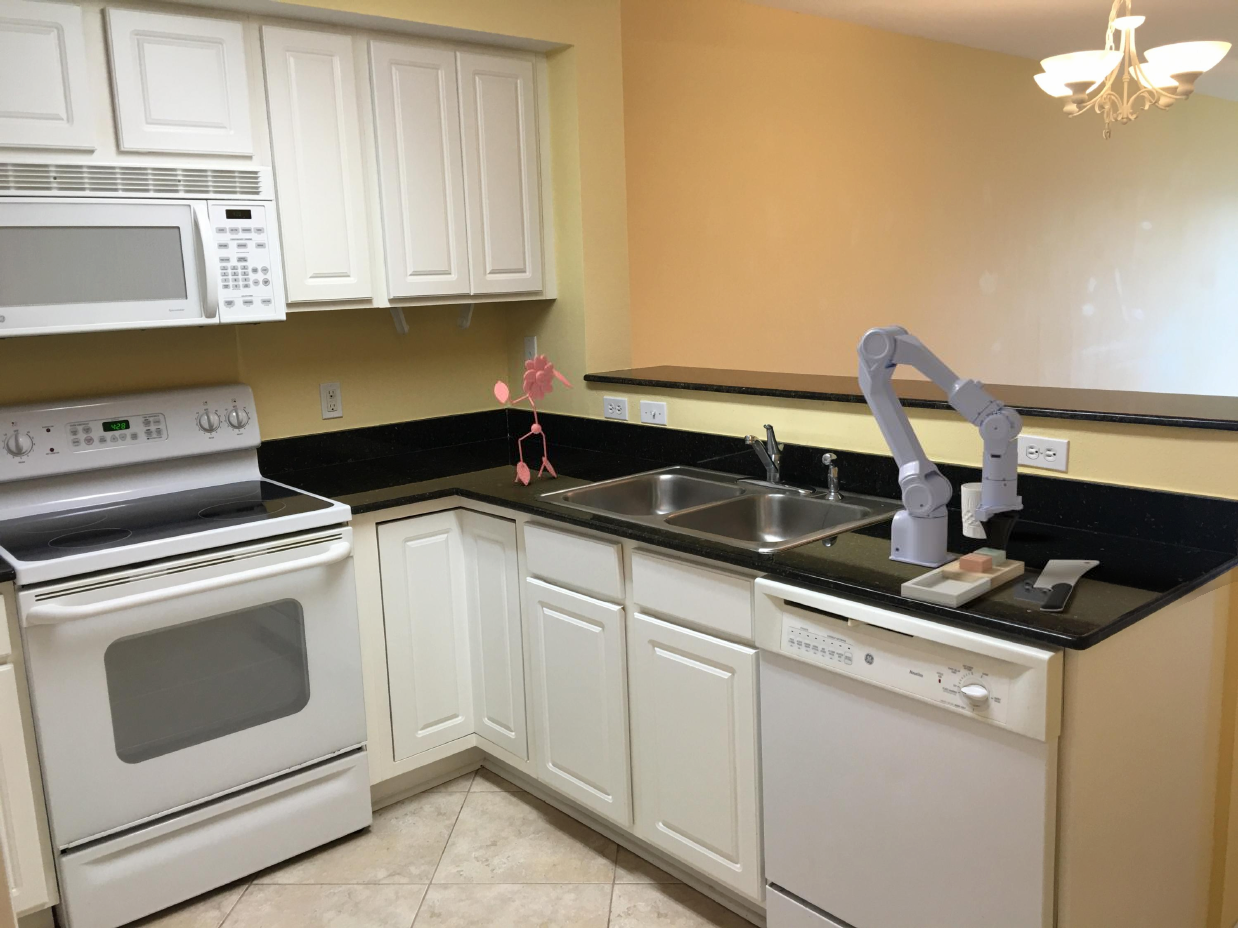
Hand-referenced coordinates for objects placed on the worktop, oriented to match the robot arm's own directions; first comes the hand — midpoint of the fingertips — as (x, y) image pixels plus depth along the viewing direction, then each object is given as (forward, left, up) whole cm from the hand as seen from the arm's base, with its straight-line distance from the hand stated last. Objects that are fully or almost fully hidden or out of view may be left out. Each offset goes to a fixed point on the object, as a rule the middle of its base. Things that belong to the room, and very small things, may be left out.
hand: (997, 553), depth 175 cm
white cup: (-13, +22, -3) cm, 26 cm away
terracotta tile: (0, -8, -1) cm, 8 cm away
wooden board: (0, -6, -3) cm, 6 cm away
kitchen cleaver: (+11, -2, -4) cm, 12 cm away
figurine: (-130, +6, -3) cm, 131 cm away
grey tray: (0, -18, -3) cm, 18 cm away
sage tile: (0, -3, -1) cm, 3 cm away
